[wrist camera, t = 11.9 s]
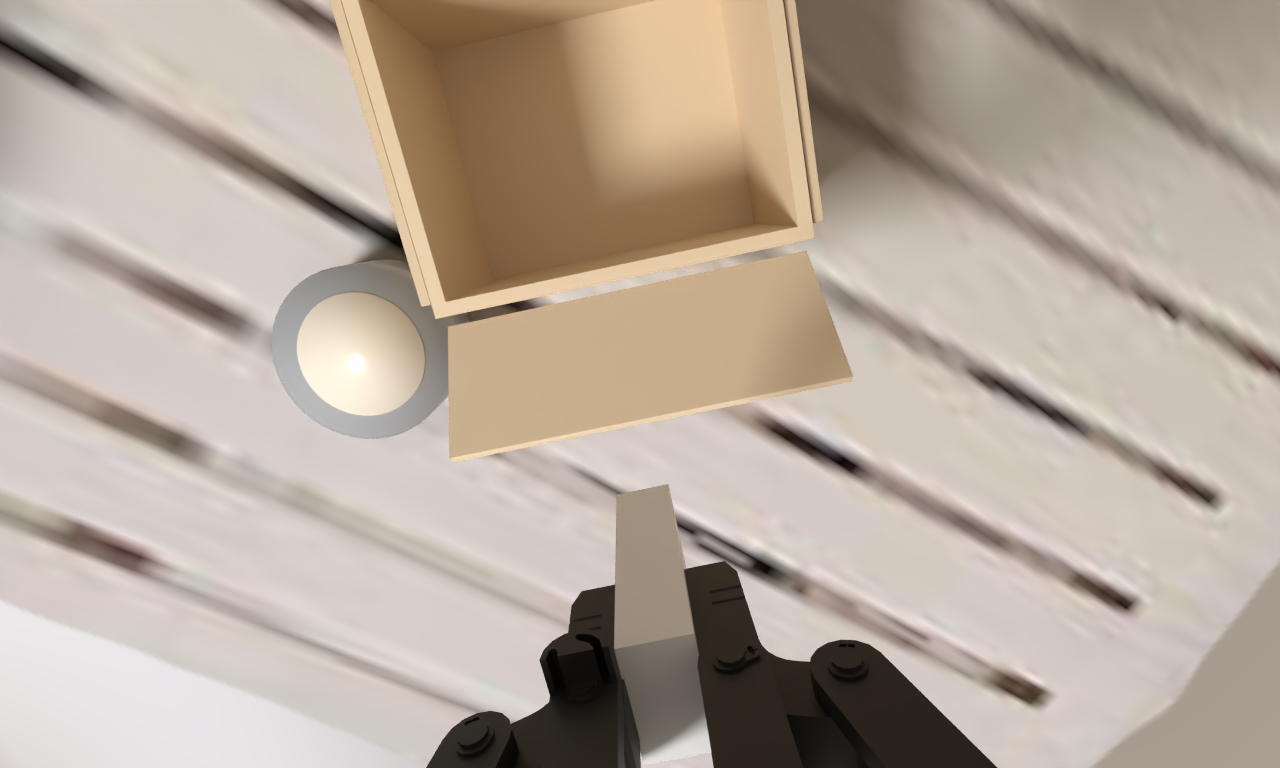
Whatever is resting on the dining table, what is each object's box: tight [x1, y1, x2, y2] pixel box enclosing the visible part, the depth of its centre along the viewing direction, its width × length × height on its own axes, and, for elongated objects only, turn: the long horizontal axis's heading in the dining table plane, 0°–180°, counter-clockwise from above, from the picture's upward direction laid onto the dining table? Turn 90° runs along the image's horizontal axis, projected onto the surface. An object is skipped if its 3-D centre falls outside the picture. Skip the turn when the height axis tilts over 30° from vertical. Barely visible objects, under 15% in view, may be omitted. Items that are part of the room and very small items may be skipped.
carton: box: [329, 0, 823, 319], centre depth 29 cm, size 17×13×10 cm
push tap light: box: [272, 259, 470, 439], centre depth 34 cm, size 9×9×5 cm
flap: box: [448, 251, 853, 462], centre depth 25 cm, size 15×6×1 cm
